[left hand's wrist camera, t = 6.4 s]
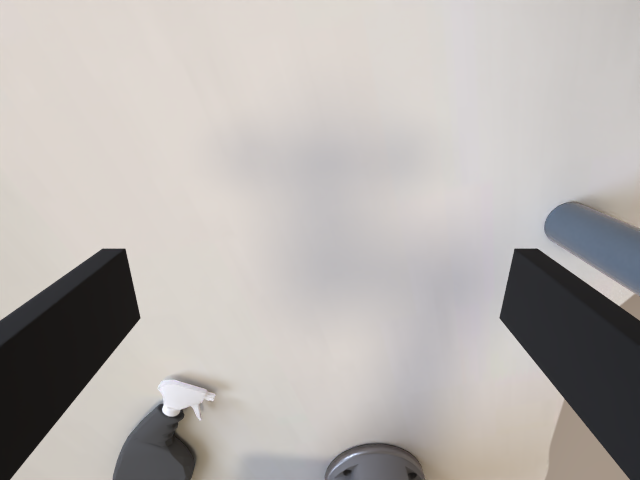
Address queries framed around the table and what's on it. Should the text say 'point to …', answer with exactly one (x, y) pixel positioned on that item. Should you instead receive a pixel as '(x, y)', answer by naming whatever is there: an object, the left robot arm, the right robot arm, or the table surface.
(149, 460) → the spray bottle
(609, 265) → the jar
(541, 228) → the table surface
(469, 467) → the table surface
